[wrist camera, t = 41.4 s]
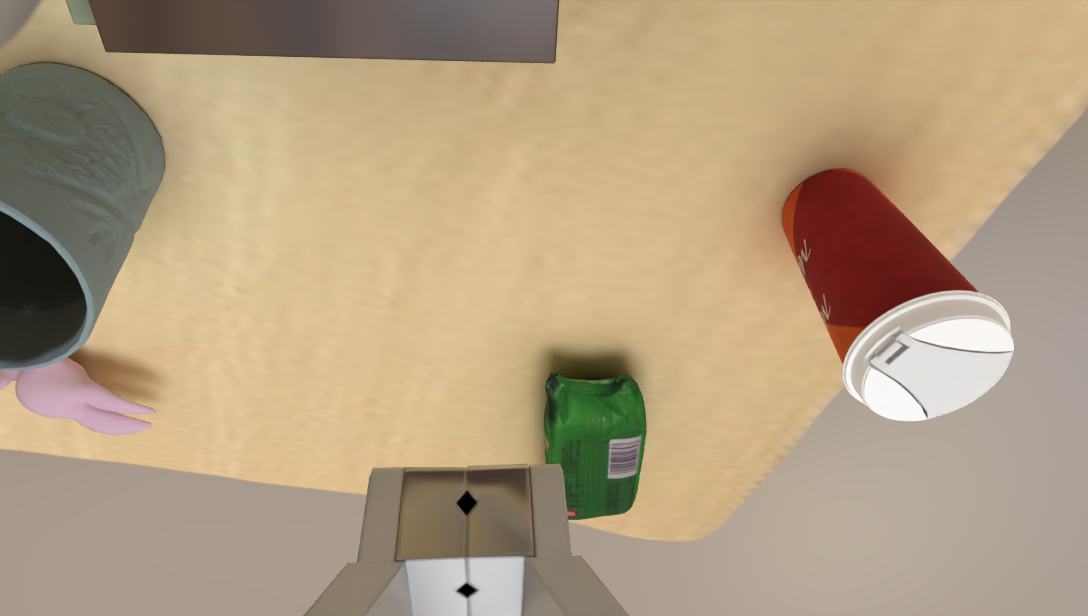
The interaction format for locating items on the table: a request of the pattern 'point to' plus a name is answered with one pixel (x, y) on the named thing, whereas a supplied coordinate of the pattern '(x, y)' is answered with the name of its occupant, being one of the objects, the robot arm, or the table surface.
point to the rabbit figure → (75, 398)
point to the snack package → (595, 442)
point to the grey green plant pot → (66, 204)
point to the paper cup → (893, 301)
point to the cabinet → (334, 28)
